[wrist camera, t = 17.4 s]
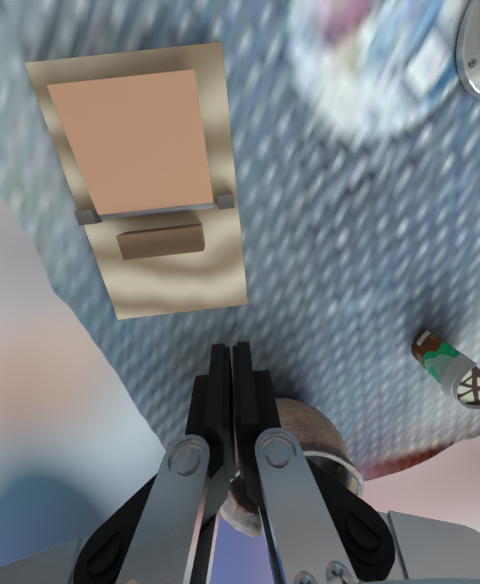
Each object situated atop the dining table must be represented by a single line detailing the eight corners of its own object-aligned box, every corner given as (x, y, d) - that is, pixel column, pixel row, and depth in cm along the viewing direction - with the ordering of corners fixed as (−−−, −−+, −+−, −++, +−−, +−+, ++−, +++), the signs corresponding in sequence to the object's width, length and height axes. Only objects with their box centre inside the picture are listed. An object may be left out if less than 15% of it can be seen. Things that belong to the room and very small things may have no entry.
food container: (391, 346, 43) (436, 389, 33) (419, 323, 41) (475, 362, 32) (428, 377, 46) (478, 423, 37) (455, 356, 44) (515, 400, 35)
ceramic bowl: (227, 454, 52) (227, 548, 39) (211, 382, 44) (204, 471, 30) (324, 441, 52) (359, 531, 39) (328, 367, 44) (374, 448, 30)
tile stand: (35, 69, 25) (-3, 45, 21) (222, 50, 25) (221, 22, 21) (122, 314, 37) (109, 330, 33) (247, 300, 37) (249, 313, 33)
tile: (100, 221, 28) (106, 219, 30) (214, 209, 29) (214, 206, 30) (46, 85, 22) (56, 88, 23) (194, 69, 22) (195, 74, 23)
